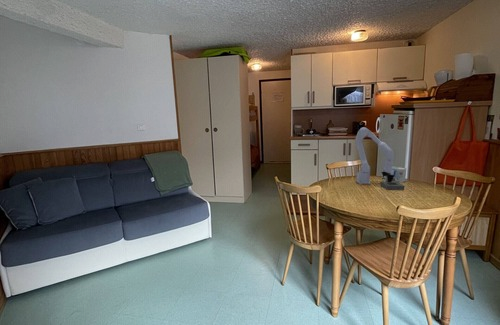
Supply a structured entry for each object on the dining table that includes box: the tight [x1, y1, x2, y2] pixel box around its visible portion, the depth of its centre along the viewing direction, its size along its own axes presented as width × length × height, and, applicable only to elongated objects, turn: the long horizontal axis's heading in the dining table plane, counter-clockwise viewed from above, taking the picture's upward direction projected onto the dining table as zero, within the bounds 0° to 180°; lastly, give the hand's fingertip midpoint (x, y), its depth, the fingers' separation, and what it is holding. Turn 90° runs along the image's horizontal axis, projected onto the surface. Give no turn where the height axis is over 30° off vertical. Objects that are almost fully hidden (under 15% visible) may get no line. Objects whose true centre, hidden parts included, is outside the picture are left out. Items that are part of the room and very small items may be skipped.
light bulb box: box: [392, 166, 407, 183], centre depth 220 cm, size 11×7×11 cm, turn 43°
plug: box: [381, 176, 388, 182], centre depth 212 cm, size 6×4×6 cm, turn 86°
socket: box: [380, 181, 405, 191], centre depth 201 cm, size 12×11×3 cm
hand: (387, 181), depth 212 cm, fingers open, 7 cm apart
